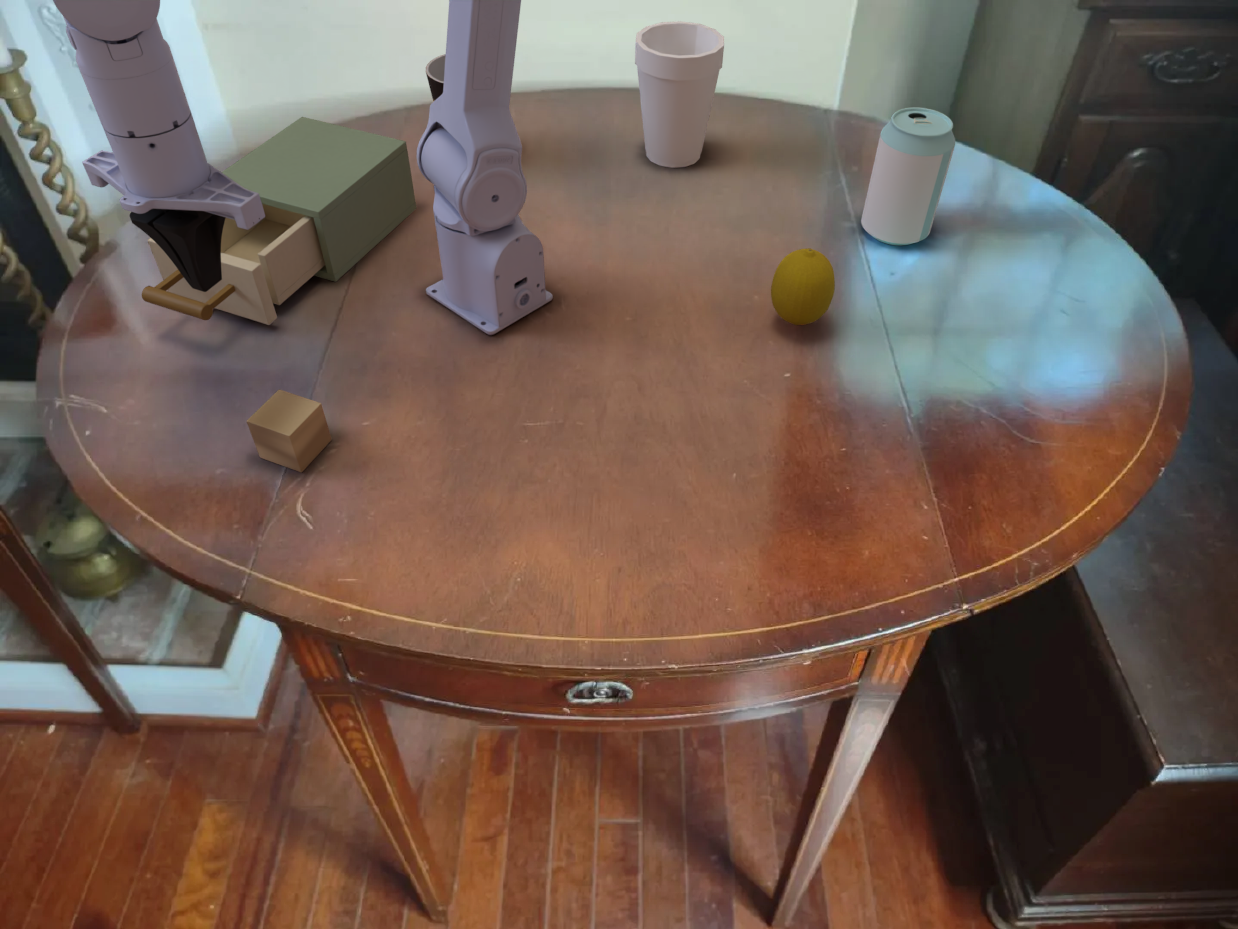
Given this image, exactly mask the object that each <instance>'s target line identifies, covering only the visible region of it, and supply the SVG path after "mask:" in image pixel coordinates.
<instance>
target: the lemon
mask: <svg viewBox="0 0 1238 929" xmlns="http://www.w3.org/2000/svg"><path fill="white" fill-rule="evenodd" d="M835 288H836V280H835V271H834V267H833V265H832V263H831V261H830V260H829V259H828V258H827V256H826V255H825V254H823V253H822V252H820V251H818V250H816V249H813V248H799V249H796V250H793V251H792V252H790V253H788V254H787V255H785V256H784V257H783V258H782V259H781V261H780V262H779V264H778V265H777V267H776V269H775V271H774V273H773V277H772V281H771V287H770V298H771V303H772V306H773V309H774V311H775V312H776V314H777V316H779V317H780V318H781V319H782V320H783V321H785V322H787V323H789V324H792V325H794V326H804V325H810V324H812V323H815V322H816V321H818V320H819V319H821V318H822V317H823V316H824V315H825V314H826V313H827V311H828V309H829V308H830V306H831V304H832V301H833V298H834V294H835Z"/></svg>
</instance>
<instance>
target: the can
mask: <svg viewBox="0 0 1238 929" xmlns="http://www.w3.org/2000/svg"><path fill="white" fill-rule="evenodd" d="M953 128H954V123H953V121H952V119H951V118H950V117H949V116H947V114H945V113H943V112H941V111H938V110H935V109H932V108H926V107H916V106H915V107H905V108H901V109H898V110H896V111H895V112H893V113H892V114H891V117H890V120H889V122H888V123H886V124H885V125H884V126H883V127H882V129H881V131H880V134H879V139H878V142H877V143H878V144H877V147H876V151H875V152H876V153H875V157H874V160H873V166H872V170H871V175H870V179H869V182H868V183H869V184H868V188H867V192H866V196H865V201H864V206H863V210H862V215H861V219H860V224H861V226H862V228H863V229H864V230H865V232H867V234H868V235H870V236H871V237H872V238H873V239H875V240H877V241H879V242H880V243H883V244H886V245H892V246H907V245H912V244H916V243H918V242H921V241H924V240H925V239H927V238H928V236H929V235H930V233H931V231H932V227H933V223H934V220H935V217H936V214H937V209H938V206H939V202H940V199H941V196H942V192H943V189H944V185H945V181H946V179H947V174H948V171H949V168H950V165H951V161H952V157H953V154H954V151H955V146H956V137H955V135H954V132H953Z"/></svg>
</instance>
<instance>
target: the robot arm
mask: <svg viewBox="0 0 1238 929" xmlns="http://www.w3.org/2000/svg"><path fill="white" fill-rule="evenodd" d="M52 1H53V3H54V5H55V7H56V8H57V10H58V11H59V13H60V14H61V15H62V17H63V19H64V22H65V25H66V26H65V32H66V35H67V38H68V40H69V42H70V45H71V46H72V48H73V49H74V50H75V61H76V65H77V68H78V70H79V72H80V74H81V77H82V80H83V83H84V84H85V87H86V90H87V92H88V95H89V97H90V99H91V102H92V105H93V107H94V109H95V112H96V115H97V117H98V119H99V122H100V124H101V126H102V129H103V132H104V134H105V136H106V138H107V141H108V143H109V146H110V148H111V151H107V150H104V149H102V150H99V151H98V152H96V153H94V154H93V155H91V156H89V157H87V158H86V159H84V160H83V161H82V162H81V163H82V165H83V168H84V170H85V172H86V175H87V177H88V179H89V182H90V185H92V186H93V187H98V188H106V186H108V185H110V186H111V187H113V188H114V189H115V190H116V191H118V192H119V193H120V194H121V195H122V196H121V197H120V198H119V203H120V206H121V208H122V210H124V211H127V212H130V213H129V219H130V221H131V223H132V224H133V225H134V226H136V227H137V228H138V229H139V230H141V231H142V232H143V233H145V234H146V236H148V237H149V239H150V238H151V239H153V240H154V241H155V242H156V243H157V244H158V245H159V246H160V248H161V249H162V250H163V251H164V252H165V253H166V254H167V256H168V257H169V258H170V259H171V261H172V262H173V263H174V265H175V266H176V267H177V269H178V270H179V271H180V273H181V274H182V276H183V277H184V278H185V280H186V281H187V282H188V284H189V285H190V286H191V287H192V288H193V289H196V290H200V291H203V292H207V291H208V290H209V289H211V288H212V287H213V286H214V285H216V284H217V283H218V282H219V281H221V280H222V271H221V239H222V231H223V226H224V222H225V218H229V219H233V220H235V221H236V224H237V227H239V228H243V229H246V230H249V229H250V228H251V227H253V226H254V225H256V224H257V223H258V222H260V221H261V220H262V219H263V218H264V217H265V213H264V209H263V206H262V202H261V199H260V196H259V193H256V192H253V191H250V190H248V189H246V188H244V187H242V186H240V185H239V184H238V183H236V182H235V181H233V180H232V179H230V178H229V177H227V176H226V175H225V174H223V173H222V172H223V171H220V170H219V169H218V168H216V167H215V166H214V165H212V164H210V163H209V162H208V160H207V157H206V154H205V151H204V148H203V144H202V142H201V139H200V135H199V132H198V129H197V126H196V123H195V120H194V117H193V113H192V111H191V108H190V105H189V102H188V99H187V95H186V93H185V90H184V86H183V84H182V80H181V78H180V74H179V71H178V67H177V65H176V62H175V59H174V56H173V53H172V50H171V47H170V45H169V43H168V41H167V40H166V39H165V38H164V37H163V32H162V30H161V27H160V24H159V21H158V15H159V13H160V8H161V0H52ZM521 7H522V0H448V12H447V13H448V14H447V26H446V27H447V28H446V41H445V42H446V43H445V54H446V56H445V71H444V86H443V93H442V95H441V96H440V97H438V98H437V99H436V100H435V101H434V102H433V101H432V102H431V104H430V105H429V110H428V111H429V112H428V121H427V125H426V127H425V130H424V132H423V133H422V135H421V136H420V139H419V141H418V144H417V148H416V163H417V167H418V169H419V171H420V173H421V175H422V176H423V177H424V178H425V179H426V180H427V181H429V182H430V183H431V184H432V185H433V191H434V198H433V204H432V210H433V216H434V217H433V218H434V226H435V231H436V232H435V233H436V238H437V239H436V240H437V246H438V253H439V259H440V267H441V271H442V272H441V273H442V279H441V280H438V281H436V282H434V283H433V284H431V285H429V286H428V287H426V288H425V293H426V295H427V296H429V297H430V298H432V299H434V300H435V301H436V302H438V303H440V304H441V305H442V306H444V307H446V308H447V309H449V310H450V311H451V312H453V313H455V314H456V315H458V316H459V317H461V318H462V319H464V320H465V321H467V322H468V323H470V324H471V325H473V326H474V327H476V328H477V329H479V330H480V331H482V332H484V333H485V334H487V335H489V336H492V335H495V334H497V333H499V332H500V331H502V330H504V329H505V328H507V327H509V326H510V325H512V324H514V323H515V322H517V321H519V320H521V319H522V318H523V317H526V316H527V315H529V314H530V313H533V312H534V311H536V310H538V309H540V308H541V307H543V306H544V305H546V304H548V303H549V302H551V301H552V300H553V298H554V297H553V296H554V295H553V293H551V292H550V291H548V290H547V289H546V272H545V271H546V270H545V254H544V246H543V244H542V241H541V239H540V238H539V237H538V236H537V235H536V234H534V232H533V231H531V230H529V228H528V227H527V226H526V225H525V223H524V222H523V220H522V218H521V217H520V216H519V214H520V212H521V210H522V209H523V207H524V205H525V202H526V199H527V194H528V183H527V179H526V177H525V173H524V171H523V167H522V152H523V145H522V141H521V139H520V135H519V133H518V130H517V127H516V125H515V122H514V119H513V117H512V112H511V109H510V104H511V94H512V87H513V86H512V85H513V79H514V78H513V77H514V68H515V60H516V59H515V58H516V49H517V42H518V41H517V40H518V31H519V24H520V15H521Z"/></svg>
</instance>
